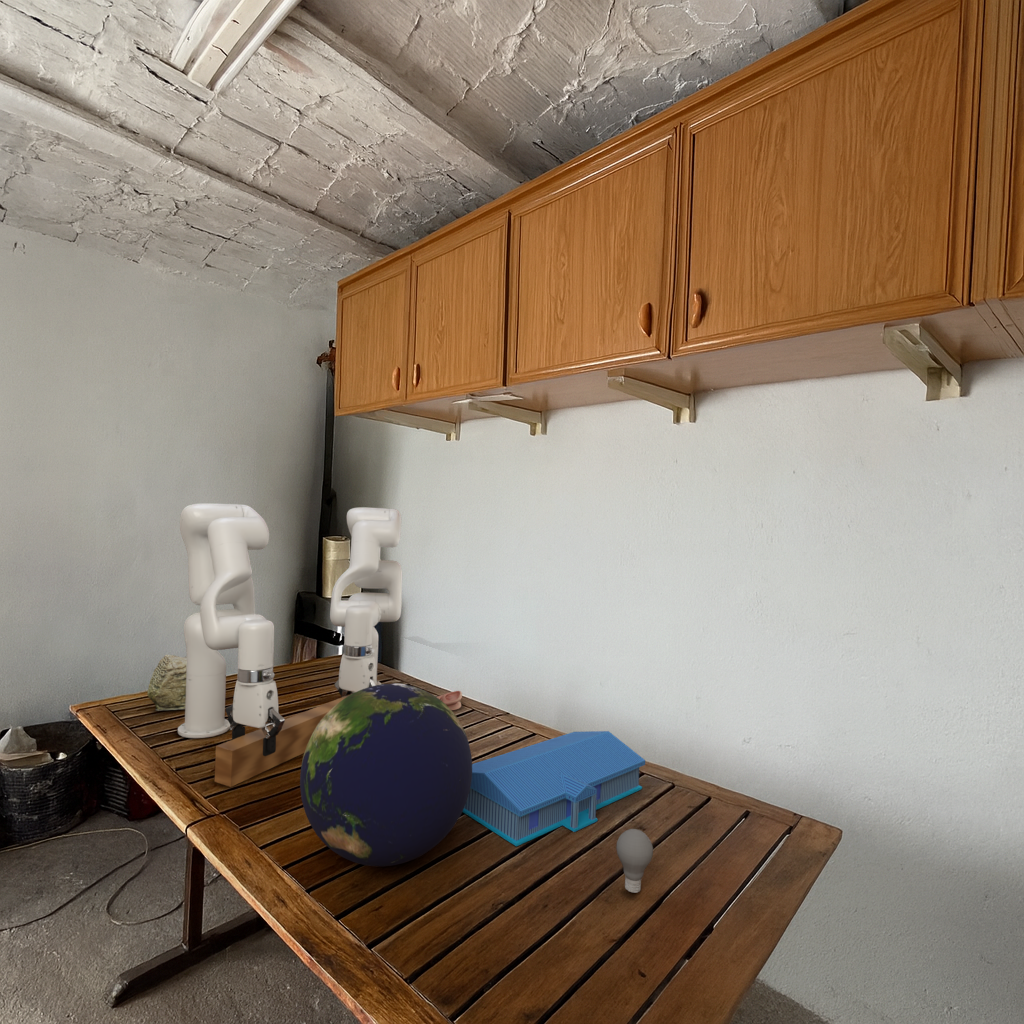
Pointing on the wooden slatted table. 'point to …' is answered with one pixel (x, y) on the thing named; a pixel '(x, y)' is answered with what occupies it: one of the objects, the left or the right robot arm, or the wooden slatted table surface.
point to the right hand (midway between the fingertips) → (355, 714)
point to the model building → (552, 784)
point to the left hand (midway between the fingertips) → (253, 750)
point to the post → (246, 751)
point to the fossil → (169, 683)
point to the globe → (386, 775)
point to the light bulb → (634, 857)
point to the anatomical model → (451, 699)
